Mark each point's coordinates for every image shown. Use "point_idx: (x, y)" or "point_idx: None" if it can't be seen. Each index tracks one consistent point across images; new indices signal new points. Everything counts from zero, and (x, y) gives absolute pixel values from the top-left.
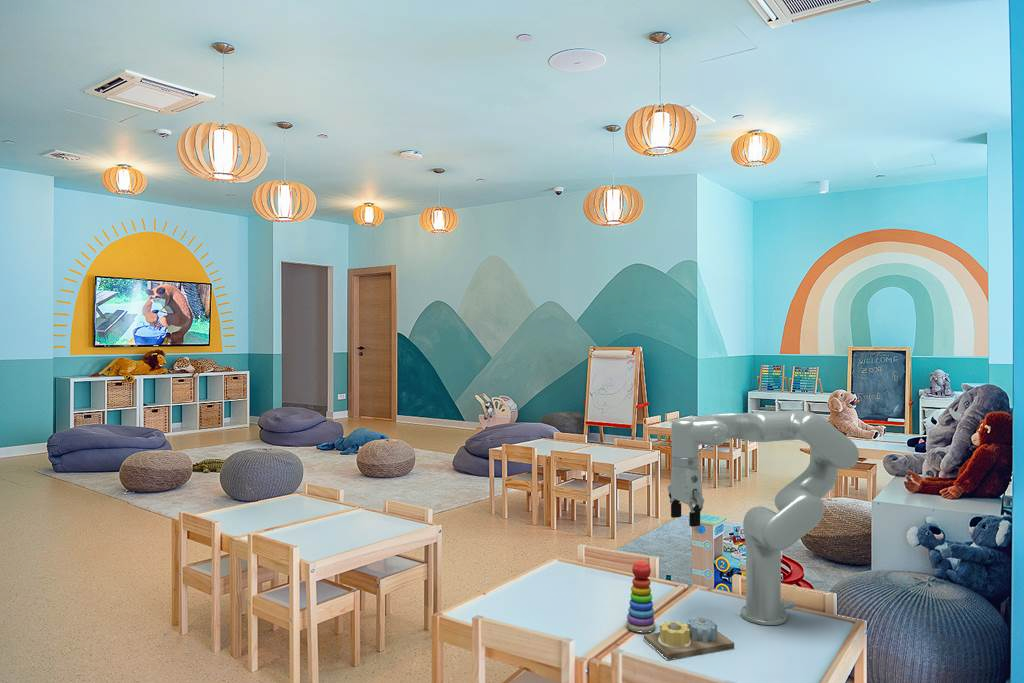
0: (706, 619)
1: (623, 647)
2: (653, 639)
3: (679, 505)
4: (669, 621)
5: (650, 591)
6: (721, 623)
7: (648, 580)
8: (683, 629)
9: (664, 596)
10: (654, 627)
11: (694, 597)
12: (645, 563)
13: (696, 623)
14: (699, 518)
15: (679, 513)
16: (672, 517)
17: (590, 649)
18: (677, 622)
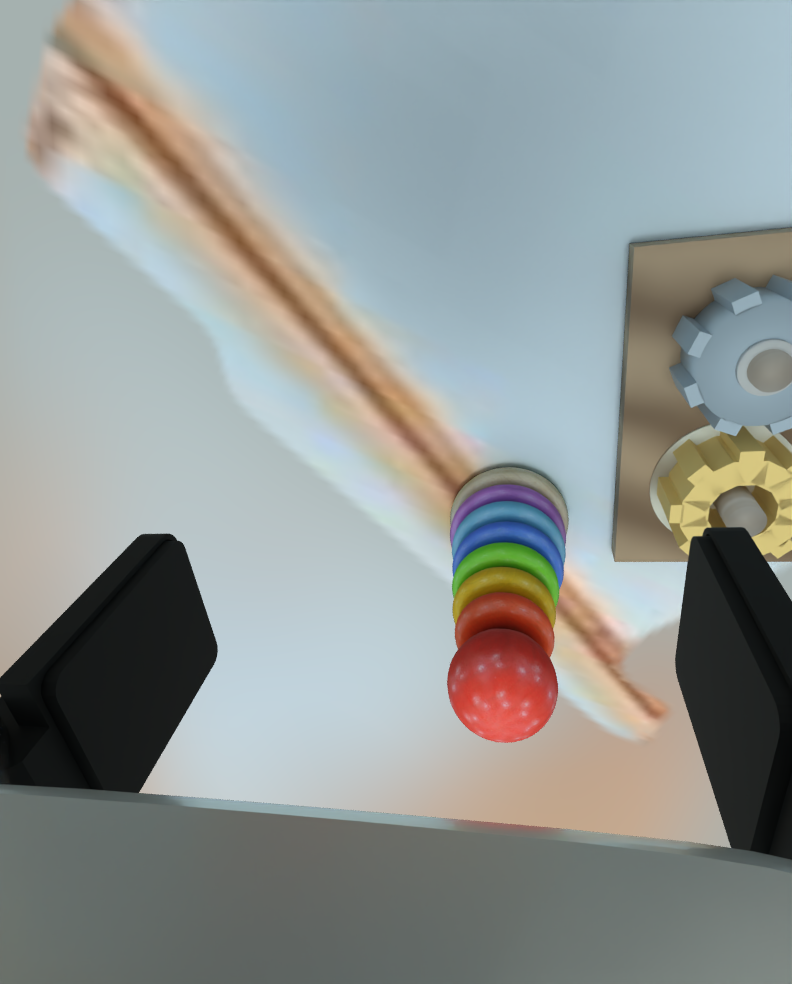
0: (735, 319)
1: (632, 627)
2: (668, 548)
3: (82, 697)
4: (676, 505)
5: (542, 584)
6: (590, 121)
7: (536, 628)
8: (786, 490)
9: (204, 266)
10: (554, 488)
11: (228, 99)
12: (526, 711)
13: (751, 394)
14: (787, 617)
15: (161, 593)
16: (208, 648)
17: (602, 708)
18: (704, 479)
